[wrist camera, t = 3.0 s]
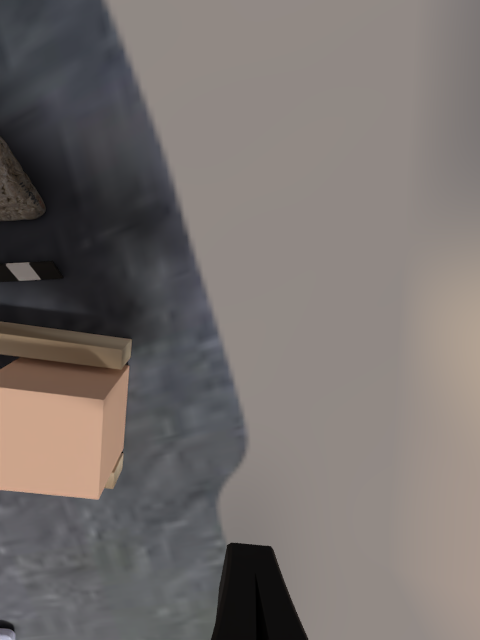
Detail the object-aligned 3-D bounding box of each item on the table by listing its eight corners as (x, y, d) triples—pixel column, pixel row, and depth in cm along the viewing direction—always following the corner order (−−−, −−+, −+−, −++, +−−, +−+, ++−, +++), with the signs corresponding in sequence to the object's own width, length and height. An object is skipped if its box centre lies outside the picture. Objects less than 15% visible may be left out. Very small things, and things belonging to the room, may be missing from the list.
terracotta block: (123, 448, 18) (98, 499, 14) (29, 438, 17) (-19, 487, 14) (129, 365, 16) (103, 400, 13) (28, 352, 16) (-25, 384, 13)
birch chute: (122, 468, 18) (113, 488, 17) (-74, 447, 17) (-102, 467, 16) (131, 339, 16) (122, 349, 15) (-90, 309, 15) (-123, 317, 14)
